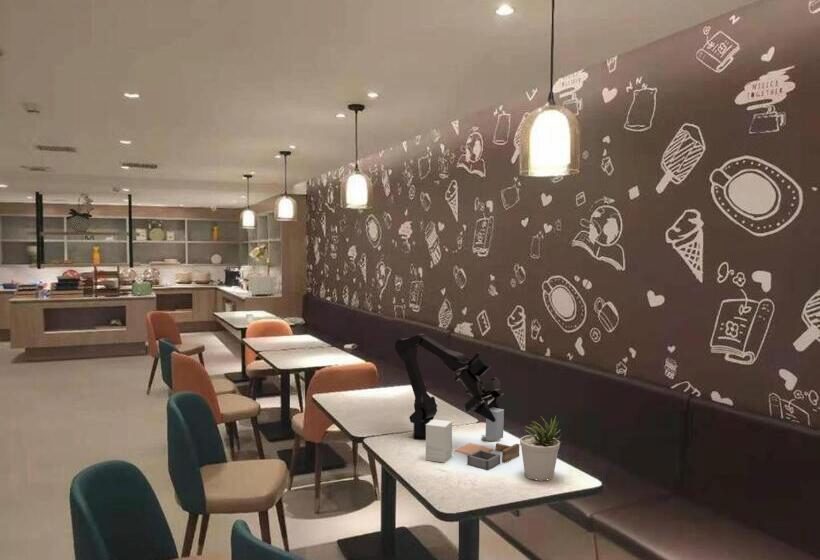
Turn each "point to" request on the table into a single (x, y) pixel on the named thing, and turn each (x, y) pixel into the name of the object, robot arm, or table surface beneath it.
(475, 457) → the dark grey open box
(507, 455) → the walnut bracket
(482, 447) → the pad
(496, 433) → the slate block
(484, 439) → the pacifier
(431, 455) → the supplement box
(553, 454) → the potted plant
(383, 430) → the table surface
